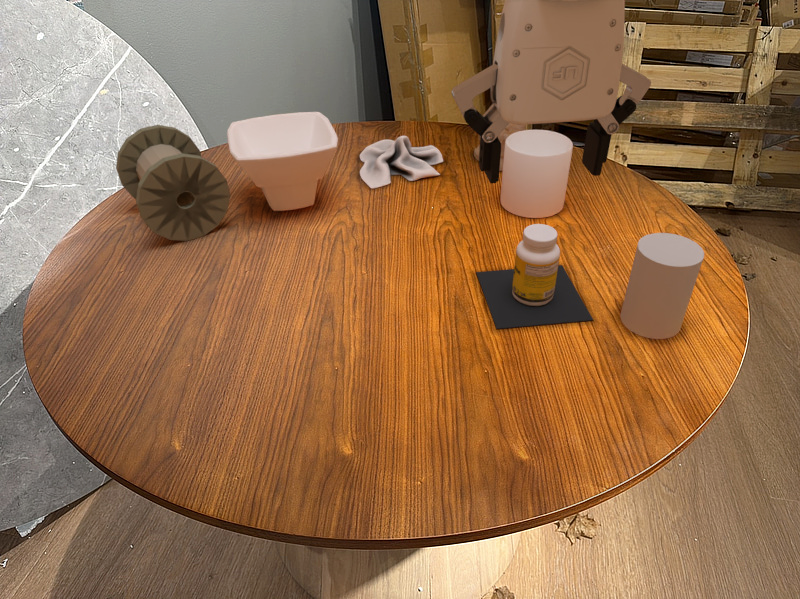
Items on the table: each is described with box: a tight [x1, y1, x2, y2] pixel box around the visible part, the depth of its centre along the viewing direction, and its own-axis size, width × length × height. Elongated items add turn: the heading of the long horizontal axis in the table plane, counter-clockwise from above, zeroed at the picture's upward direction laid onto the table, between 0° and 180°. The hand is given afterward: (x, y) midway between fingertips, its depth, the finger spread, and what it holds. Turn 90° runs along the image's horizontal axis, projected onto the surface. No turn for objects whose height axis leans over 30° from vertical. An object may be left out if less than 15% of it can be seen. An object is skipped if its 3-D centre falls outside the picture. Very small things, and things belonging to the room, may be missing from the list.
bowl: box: [226, 111, 339, 212], centre depth 114 cm, size 19×19×14 cm
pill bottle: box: [512, 223, 561, 306], centre depth 89 cm, size 6×6×11 cm
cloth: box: [359, 135, 444, 190], centre depth 128 cm, size 22×19×6 cm
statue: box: [473, 123, 527, 172], centre depth 129 cm, size 12×14×10 cm
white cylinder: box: [500, 129, 574, 219], centre depth 112 cm, size 12×12×12 cm
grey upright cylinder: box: [620, 232, 705, 340], centre depth 84 cm, size 8×8×12 cm
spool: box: [115, 124, 231, 242], centre depth 110 cm, size 16×15×15 cm
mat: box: [475, 264, 594, 330], centre depth 93 cm, size 14×14×1 cm
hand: (540, 173), depth 58 cm, fingers open, 9 cm apart
